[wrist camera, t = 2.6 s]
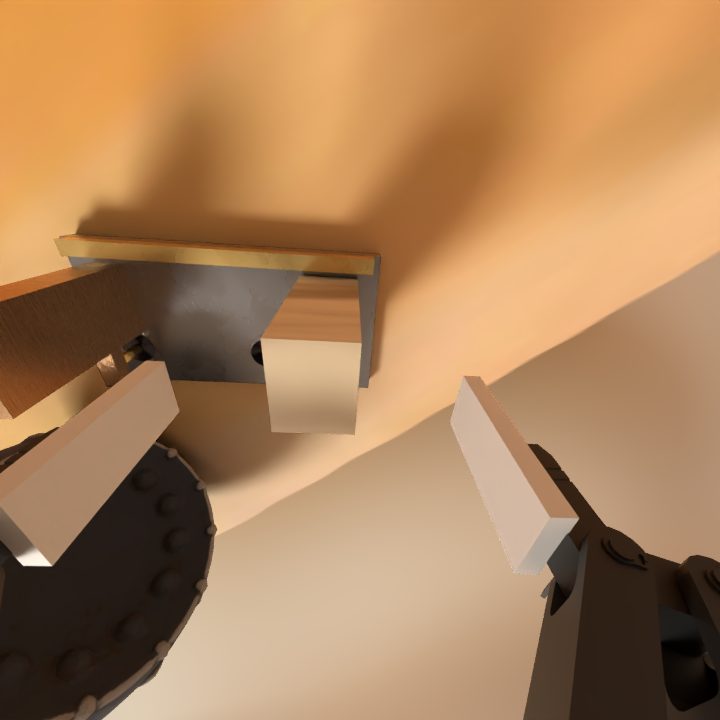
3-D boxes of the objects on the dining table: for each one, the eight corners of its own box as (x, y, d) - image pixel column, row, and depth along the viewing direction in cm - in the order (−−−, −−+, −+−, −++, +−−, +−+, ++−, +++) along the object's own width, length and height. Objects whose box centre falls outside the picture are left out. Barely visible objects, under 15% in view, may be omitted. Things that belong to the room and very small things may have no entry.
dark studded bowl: (88, 371, 25) (-488, 760, 8) (253, 489, 34) (149, 801, 16) (25, 425, 28) (-498, 796, 11) (192, 521, 37) (48, 815, 19)
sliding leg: (300, 275, 20) (260, 338, 11) (357, 278, 20) (361, 343, 12) (303, 372, 24) (276, 473, 15) (351, 374, 24) (351, 475, 16)
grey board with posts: (74, 234, 20) (-193, 273, 10) (379, 254, 21) (402, 306, 11) (128, 370, 25) (-11, 480, 16) (367, 380, 26) (376, 489, 17)
